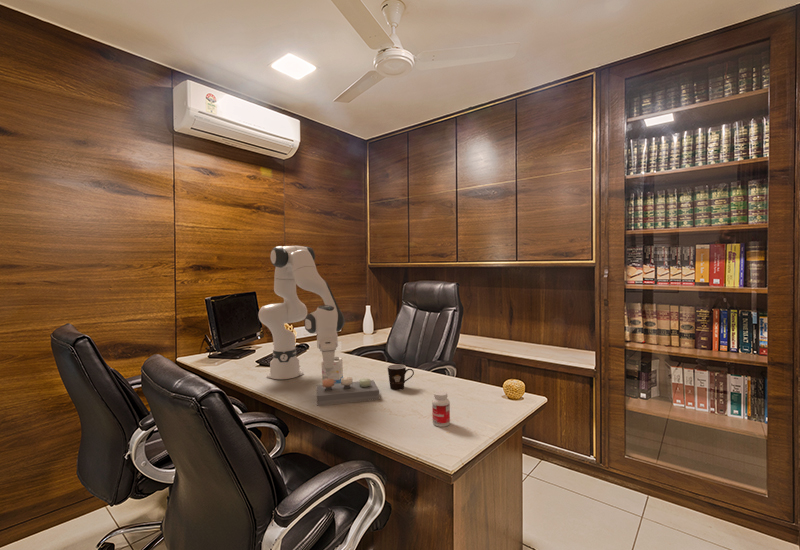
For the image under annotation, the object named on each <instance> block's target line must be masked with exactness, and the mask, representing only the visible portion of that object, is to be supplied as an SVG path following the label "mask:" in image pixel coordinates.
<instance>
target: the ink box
mask: <svg viewBox="0 0 800 550" xmlns="http://www.w3.org/2000/svg"><path fill="white" fill-rule="evenodd" d="M343 371H344V367H343V357H338V356H334V367H333V369H331V375H330V376H327V375H326V370H325V369H324V363H323V360H322V361H321V377H322V378H321V380H324V379H334V384H337V383H341V378H344V375H343V374H344V372H343Z"/></svg>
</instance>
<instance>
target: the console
mask: <svg viewBox="0 0 800 550" xmlns="http://www.w3.org/2000/svg"><path fill="white" fill-rule="evenodd" d="M370 380H371V379H370ZM376 400H377V401H378V400H380V389H379V387H378V386H377V384H376V382H375V380H373V379H372V380H371V385H370V386H368V387H361V386H359V381H353V384H351V385H350V389H344V385H341V383H337V384H334V386H332V387H331V390H328V391H326V387H323V385H322V384H317V385H316V406H319V407H320V405H321V406H330V405H337V404H338V405H340V404H347V403H357V402H358V403H359V402H368V401H376Z"/></svg>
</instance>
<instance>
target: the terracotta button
mask: <svg viewBox="0 0 800 550" xmlns="http://www.w3.org/2000/svg"><path fill="white" fill-rule="evenodd" d="M321 380H322V379H321ZM321 385H323V387H326V391H328V390H331V387H332V386H334V379H324V380H322V384H321Z"/></svg>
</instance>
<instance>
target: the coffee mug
mask: <svg viewBox="0 0 800 550" xmlns="http://www.w3.org/2000/svg"><path fill="white" fill-rule="evenodd" d="M406 368H407V366H406V365H405V364H398V363H396V364H389V365H387V373H388V379H389V380H388V382H389V386H390V387H389V388H390V390H393V391H401V390H403V389H405V383H406V382H407V381H409V380H410V379H411V378H412V377H413V376H414V374H415V373H414V369H413V368H407V369H406ZM408 371H412V374H411V375H410V376H409V377H408V378H406V374H407V373H408Z"/></svg>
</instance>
